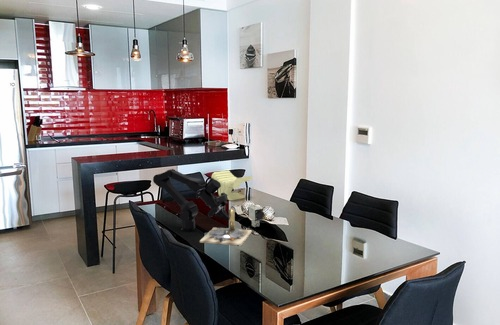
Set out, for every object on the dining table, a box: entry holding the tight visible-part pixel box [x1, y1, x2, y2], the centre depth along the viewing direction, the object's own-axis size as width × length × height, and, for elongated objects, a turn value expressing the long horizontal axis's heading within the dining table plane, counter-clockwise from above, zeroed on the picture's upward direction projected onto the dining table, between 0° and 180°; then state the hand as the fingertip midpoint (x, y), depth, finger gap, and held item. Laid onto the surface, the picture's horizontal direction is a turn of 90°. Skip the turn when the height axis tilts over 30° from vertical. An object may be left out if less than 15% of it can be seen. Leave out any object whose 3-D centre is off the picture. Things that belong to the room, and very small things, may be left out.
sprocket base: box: [199, 227, 253, 247], centre depth 213 cm, size 22×22×3 cm
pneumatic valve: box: [247, 205, 265, 228], centre depth 231 cm, size 6×12×12 cm, turn 27°
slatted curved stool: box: [211, 170, 253, 201], centre depth 298 cm, size 30×16×18 cm, turn 36°
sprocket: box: [208, 208, 244, 241], centre depth 212 cm, size 18×18×12 cm
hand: (228, 219), depth 217 cm, fingers closed
